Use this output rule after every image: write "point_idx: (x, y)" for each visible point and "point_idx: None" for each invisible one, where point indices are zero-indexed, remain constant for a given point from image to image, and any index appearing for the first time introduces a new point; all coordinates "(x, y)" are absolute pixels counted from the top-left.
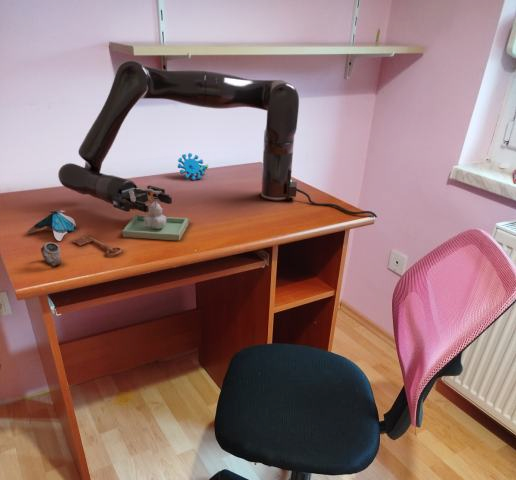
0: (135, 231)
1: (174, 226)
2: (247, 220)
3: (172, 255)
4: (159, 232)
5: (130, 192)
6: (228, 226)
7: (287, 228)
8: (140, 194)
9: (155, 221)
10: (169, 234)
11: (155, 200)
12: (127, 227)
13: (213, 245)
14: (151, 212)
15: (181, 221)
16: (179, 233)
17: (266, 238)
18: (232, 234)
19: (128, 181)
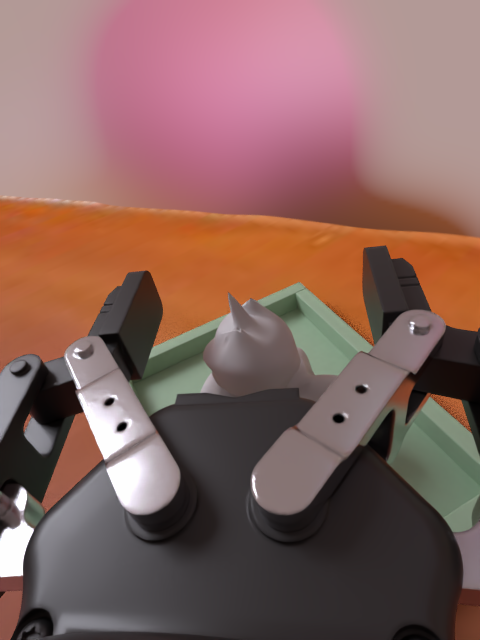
0: (447, 420)
1: (196, 389)
2: (12, 288)
3: (412, 248)
4: (344, 335)
5: (328, 445)
6: (86, 290)
7: (49, 220)
8: (235, 410)
9: (307, 359)
10: (323, 303)
11: (236, 301)
12: (463, 509)
13: (255, 237)
14: (297, 353)
15: (135, 391)
16: (287, 288)
17: (134, 211)
18: (148, 254)
19: (114, 633)
